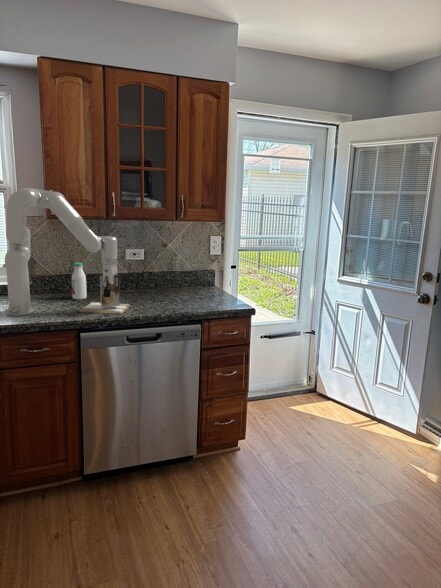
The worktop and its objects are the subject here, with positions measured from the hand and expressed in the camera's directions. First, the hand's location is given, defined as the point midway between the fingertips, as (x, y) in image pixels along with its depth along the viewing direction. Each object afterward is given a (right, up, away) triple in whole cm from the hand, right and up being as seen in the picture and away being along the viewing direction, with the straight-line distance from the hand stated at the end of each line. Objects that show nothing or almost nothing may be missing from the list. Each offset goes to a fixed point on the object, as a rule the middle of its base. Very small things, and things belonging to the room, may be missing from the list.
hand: (109, 294), depth 215 cm
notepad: (-3, -7, +4) cm, 9 cm away
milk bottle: (-23, -2, +22) cm, 32 cm away
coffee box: (0, -5, +1) cm, 6 cm away
